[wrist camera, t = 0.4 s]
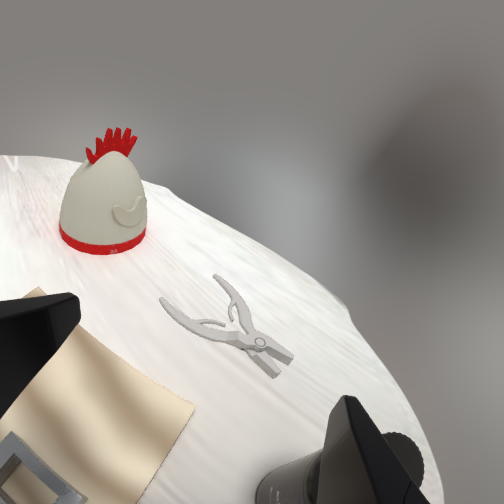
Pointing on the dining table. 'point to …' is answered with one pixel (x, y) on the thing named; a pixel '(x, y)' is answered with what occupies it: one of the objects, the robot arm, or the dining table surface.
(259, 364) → the pliers
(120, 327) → the dining table surface
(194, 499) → the dining table surface
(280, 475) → the supplement bottle
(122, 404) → the keeper board
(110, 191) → the kitchen timer
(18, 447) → the grey square frame
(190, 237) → the dining table surface
